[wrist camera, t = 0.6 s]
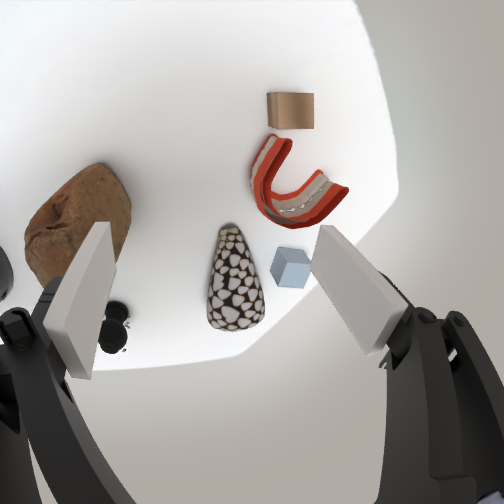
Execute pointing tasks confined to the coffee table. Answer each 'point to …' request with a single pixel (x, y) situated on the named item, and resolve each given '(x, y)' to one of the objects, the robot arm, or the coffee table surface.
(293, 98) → the walnut block
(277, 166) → the toy
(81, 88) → the coffee table surface
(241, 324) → the seashell
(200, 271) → the coffee table surface
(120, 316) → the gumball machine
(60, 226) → the brown rock
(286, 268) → the slate block
